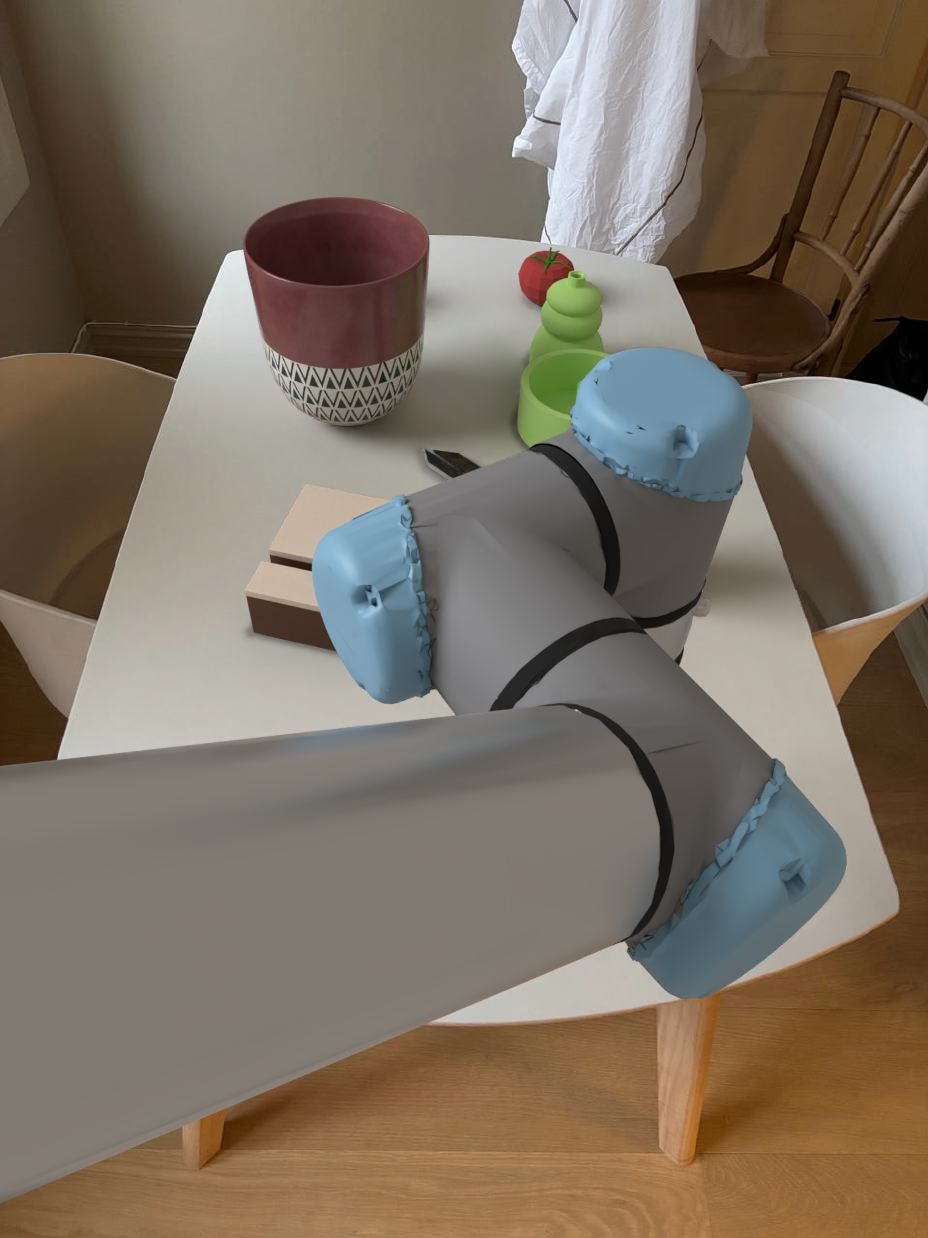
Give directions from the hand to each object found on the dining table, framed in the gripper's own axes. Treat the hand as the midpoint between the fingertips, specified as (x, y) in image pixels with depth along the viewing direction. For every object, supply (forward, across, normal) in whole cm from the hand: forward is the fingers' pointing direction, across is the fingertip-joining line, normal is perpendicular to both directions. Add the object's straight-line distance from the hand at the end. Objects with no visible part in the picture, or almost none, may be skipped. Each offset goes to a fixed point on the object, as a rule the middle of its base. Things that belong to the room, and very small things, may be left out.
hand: (571, 824), depth 66 cm
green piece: (+11, +64, +10) cm, 66 cm away
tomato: (+11, +87, +18) cm, 89 cm away
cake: (+11, +29, +27) cm, 41 cm away
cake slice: (+11, +20, +27) cm, 35 cm away
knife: (+11, +43, +14) cm, 46 cm away
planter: (+11, +55, +36) cm, 67 cm away
